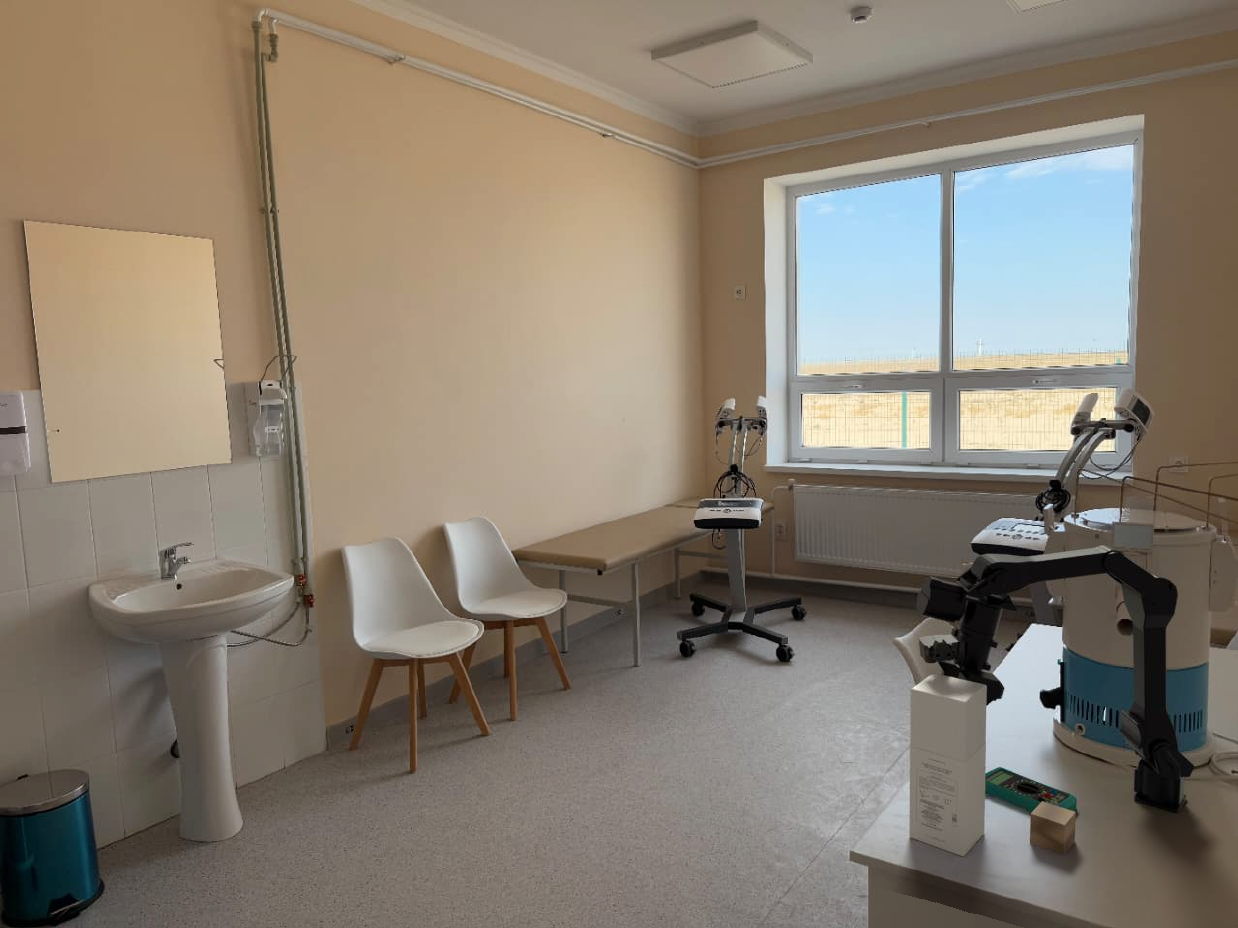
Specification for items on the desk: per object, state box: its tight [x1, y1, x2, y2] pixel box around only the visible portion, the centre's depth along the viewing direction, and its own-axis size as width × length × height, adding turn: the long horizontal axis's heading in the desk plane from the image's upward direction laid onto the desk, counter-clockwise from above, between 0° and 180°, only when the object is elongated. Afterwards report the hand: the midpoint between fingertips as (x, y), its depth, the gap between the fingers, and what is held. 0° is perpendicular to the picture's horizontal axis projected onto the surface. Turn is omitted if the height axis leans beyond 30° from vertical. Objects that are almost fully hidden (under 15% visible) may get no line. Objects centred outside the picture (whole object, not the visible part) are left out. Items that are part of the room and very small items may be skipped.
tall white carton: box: [908, 672, 987, 857], centre depth 137 cm, size 9×9×25 cm
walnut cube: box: [1029, 801, 1077, 856], centre depth 135 cm, size 5×5×5 cm
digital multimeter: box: [985, 766, 1077, 813], centre depth 148 cm, size 7×15×3 cm, turn 36°
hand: (953, 713), depth 148 cm, fingers open, 9 cm apart
